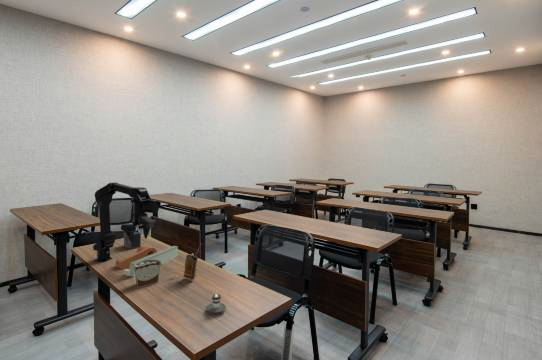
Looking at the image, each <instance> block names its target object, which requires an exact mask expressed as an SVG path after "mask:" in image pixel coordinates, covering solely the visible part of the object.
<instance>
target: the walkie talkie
mask: <svg viewBox="0 0 542 360" xmlns="http://www.w3.org/2000/svg"><path fill="white" fill-rule="evenodd" d="M201 245H202V244H200V246H199V247H198V249H197V250H196V253H195V255H194V253H193V252H192V253H191V254H186V257H185V260H184V272H183V273H178V274H173V275H170V276H167V277H166V278H168V279H169V278H170V277H174V276H181V275H182V276H183V277H184V278H186V279H188V280H191V281H192V280H195V277H198V275H199V273H196V271H197V265H198V253H199V251H200V248H201Z"/></svg>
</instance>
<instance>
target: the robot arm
mask: <svg viewBox="0 0 542 360" xmlns="http://www.w3.org/2000/svg"><path fill="white" fill-rule="evenodd" d="M117 192H118V193H121V194H126V195H128V196H129V197H130V198H131V200H130V203H133V212H131V216H133V220H131V223H130V222H129V223H127V222H126V223H123V224H122V225H121V226H120V230H121V231H122V232H125V233H126V234H127V236H128V237H129V239H130V241H131V243H133V240H134V232H137V230H136V228H138V227H142V231H143V236H144V239H147V238H148V237H149V234H150V231H151V229H152V228H153V227H155V225H157V217H156V216H155V215H152V216H148V214H157V213H158V212H159V209H160V205H159V203H158V202H157V200H156V199H152V196H151V195H150V193H149V191H148V189H147V188H146V187H133V186H129V185H126V184H122V183H118V182H109V183H107V184H106V185H104V186H102V187H101V188H98V189H97V190H96V191H95V192H94V198H95V202H96V203H97V205H98V206H99V207H98V210H99V227H100V229H99V230H100V231H99V233H98V235H97V239H96V243H95V244H94V245H93V246H92V248H93V251H96V258H94V259H93V261H97V262H101V263H102V262H106V261H109V260H112V259H113V257H111V249H112V248H114V244H115V243H116V242H115V241H116V233H115V232H112V229H111V211H110V204H111V203H112V201H113V196H114V195H116V193H117Z"/></svg>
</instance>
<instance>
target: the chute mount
mask: <svg viewBox="0 0 542 360" xmlns="http://www.w3.org/2000/svg"><path fill="white" fill-rule="evenodd" d="M178 248H179V246H178V245H177V246H176V245H173V246H172V245H171V246H170V247H167V248H165V249H162V250H159V251H157V253H154V254H152V255H149V256H146V257H144V258H141V259H139V260H136V261H134V262H131V263H130V267H129V269H127V268H124V269H123V276H127V277H132V278H136V276H135V271H133V269H134V265H135V264H136V263H137V262H140V261H143V260H151V259H153V260H159V261H160V262H161V265H164V264H165V263H167V262H169V261H171V260H173V259H175V258H177V257H179V256H178V255H179V252H178V250H179V249H178Z"/></svg>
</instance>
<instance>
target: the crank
mask: <svg viewBox="0 0 542 360" xmlns="http://www.w3.org/2000/svg"><path fill="white" fill-rule="evenodd" d="M157 252H158V251H157V249H156V248H155V247H151V246H149V245H146V244H143V245H141V247H139V248H137V250H136V252H135V253H133V254H131V255H129V256H126V257H124V258H122V259H121V258H120V259H116V260H115V266H116V267H117V268H118V269H120V270H125V269H127V268H130V263H131V262H134V261H136V260H139V259H141V258H144V257H146V256H149V255H152V254H154V253H157Z"/></svg>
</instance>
